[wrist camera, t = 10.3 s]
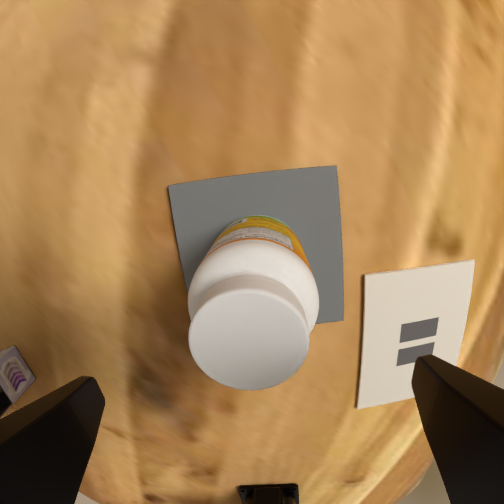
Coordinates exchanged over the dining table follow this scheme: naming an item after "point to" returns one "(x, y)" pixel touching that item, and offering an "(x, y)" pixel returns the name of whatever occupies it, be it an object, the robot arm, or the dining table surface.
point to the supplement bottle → (252, 305)
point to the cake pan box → (13, 377)
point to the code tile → (410, 325)
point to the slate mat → (273, 205)
